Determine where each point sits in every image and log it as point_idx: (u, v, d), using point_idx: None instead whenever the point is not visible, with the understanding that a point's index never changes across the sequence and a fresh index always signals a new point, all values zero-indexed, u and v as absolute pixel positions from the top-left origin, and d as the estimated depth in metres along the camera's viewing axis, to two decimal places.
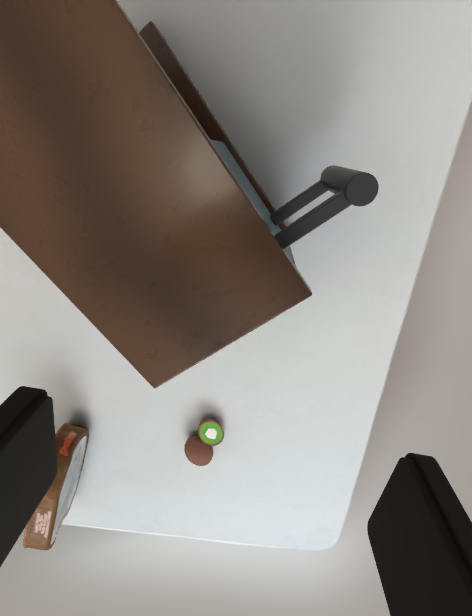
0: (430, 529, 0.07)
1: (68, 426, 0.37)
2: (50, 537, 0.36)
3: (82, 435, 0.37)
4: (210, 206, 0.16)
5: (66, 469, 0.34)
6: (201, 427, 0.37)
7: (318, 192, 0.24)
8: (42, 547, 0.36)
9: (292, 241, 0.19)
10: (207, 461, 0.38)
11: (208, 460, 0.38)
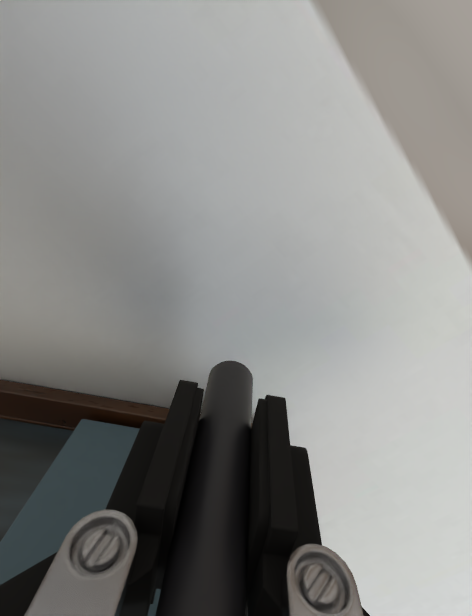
0: (257, 450, 0.08)
1: None
2: None
3: None
4: None
5: None
6: None
7: None
8: None
9: None
10: None
11: None
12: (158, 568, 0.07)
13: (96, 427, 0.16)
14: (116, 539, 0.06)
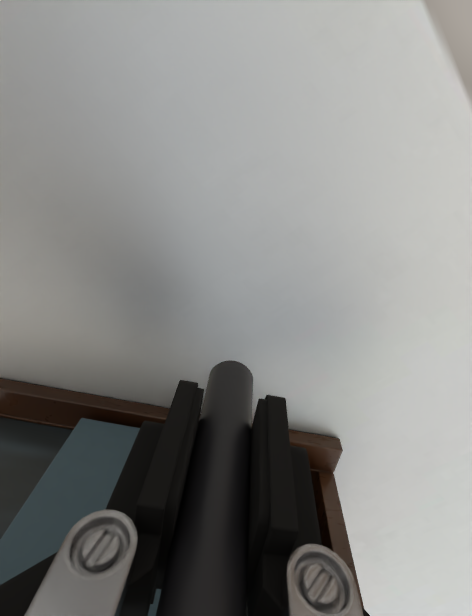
0: (257, 450, 0.08)
1: None
2: None
3: None
4: None
5: None
6: None
7: None
8: None
9: None
10: None
11: None
12: (158, 568, 0.07)
13: (95, 426, 0.16)
14: (116, 539, 0.06)
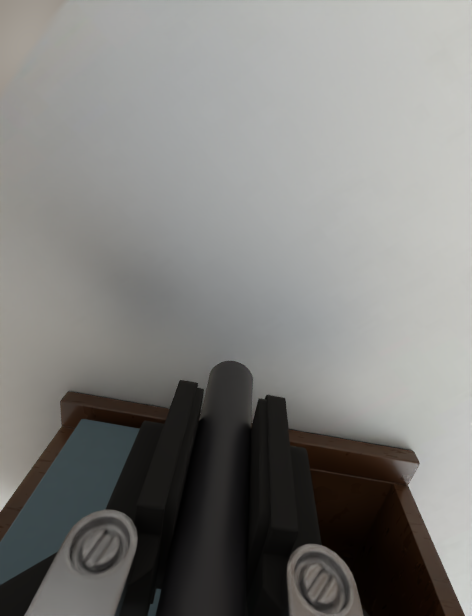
0: (257, 450, 0.08)
1: None
2: None
3: None
4: None
5: None
6: None
7: None
8: None
9: None
10: None
11: None
12: (158, 568, 0.07)
13: (96, 427, 0.16)
14: (116, 539, 0.06)
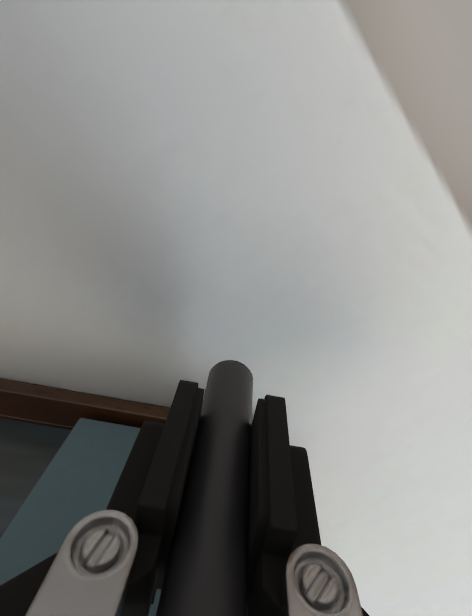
0: (257, 450, 0.08)
1: None
2: None
3: None
4: None
5: None
6: None
7: None
8: None
9: None
10: None
11: None
12: (159, 568, 0.07)
13: (94, 426, 0.16)
14: (117, 539, 0.06)
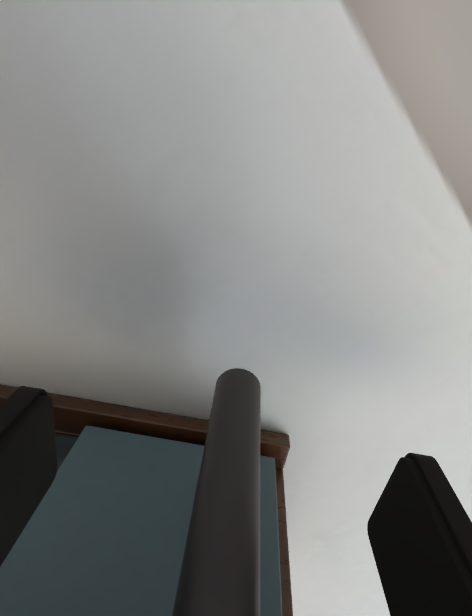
0: (430, 529, 0.07)
1: None
2: None
3: None
4: None
5: None
6: None
7: None
8: None
9: None
10: None
11: None
12: None
13: (101, 434, 0.16)
14: None
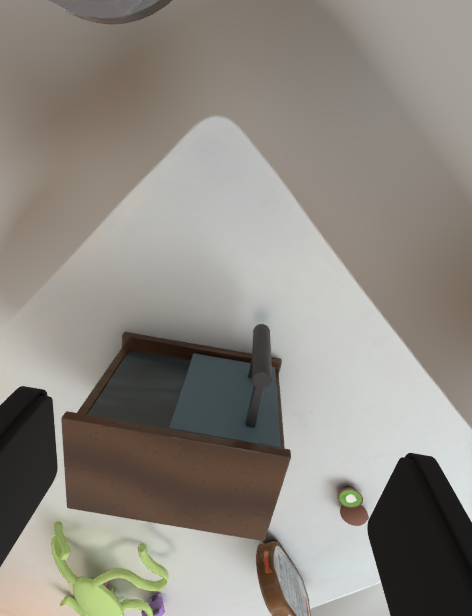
0: (430, 529, 0.07)
1: (261, 548, 0.50)
2: None
3: (272, 549, 0.49)
4: (207, 458, 0.27)
5: (277, 582, 0.45)
6: (340, 499, 0.45)
7: None
8: None
9: (255, 420, 0.29)
10: (365, 518, 0.45)
11: (365, 517, 0.45)
12: None
13: (200, 356, 0.37)
14: None
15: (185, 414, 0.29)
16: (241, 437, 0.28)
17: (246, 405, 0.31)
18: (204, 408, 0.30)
